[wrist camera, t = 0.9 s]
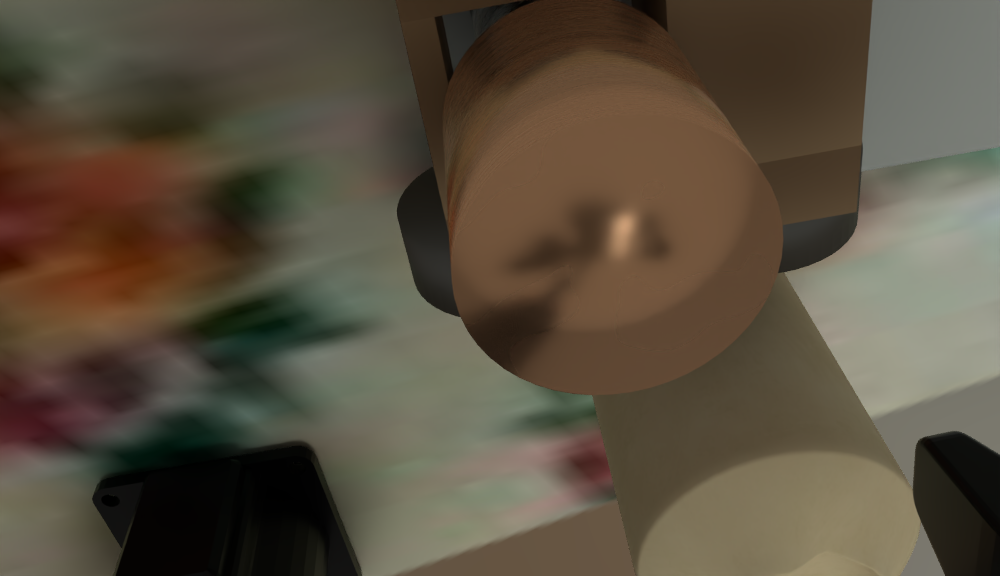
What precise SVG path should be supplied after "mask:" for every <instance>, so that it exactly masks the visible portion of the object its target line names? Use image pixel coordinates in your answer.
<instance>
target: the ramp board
mask: <svg viewBox="0 0 1000 576" xmlns="http://www.w3.org/2000/svg"><path fill="white" fill-rule="evenodd" d="M617 1H620V2H623V3H625V4H628V5H630V6H632V1H631V0H617ZM442 17H443V22H444V27H445V32H446V37H447V42H448V47H449V52H450V57H451V62H452V67H453V72H454V71H455V69H456V67H457V65H458V63H459V62H460V60H461V58H462V57H463V55H464V54H465V52H466V51H467V50H468V48H469V47H470V46H471V45H472V44H473V42H474V41H475V35H474V29H473V21H472V10H469V11H463V12H458V13H453V14H447V15H442ZM862 144H863V156H862V169H861V172H862V171H867V170H873V169H878V168H884V167H889V166H895V165H901V164H906V163H912V162H917V161H923V160H929V159H934V158H940V157H945V156H951V155H957V154H962V153H968V152H973V151H979V150H984V149H990V148H996V147H1000V0H873V2H872V15H871V29H870V42H869V55H868V68H867V81H866V94H865V107H864V121H863V134H862Z"/></svg>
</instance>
